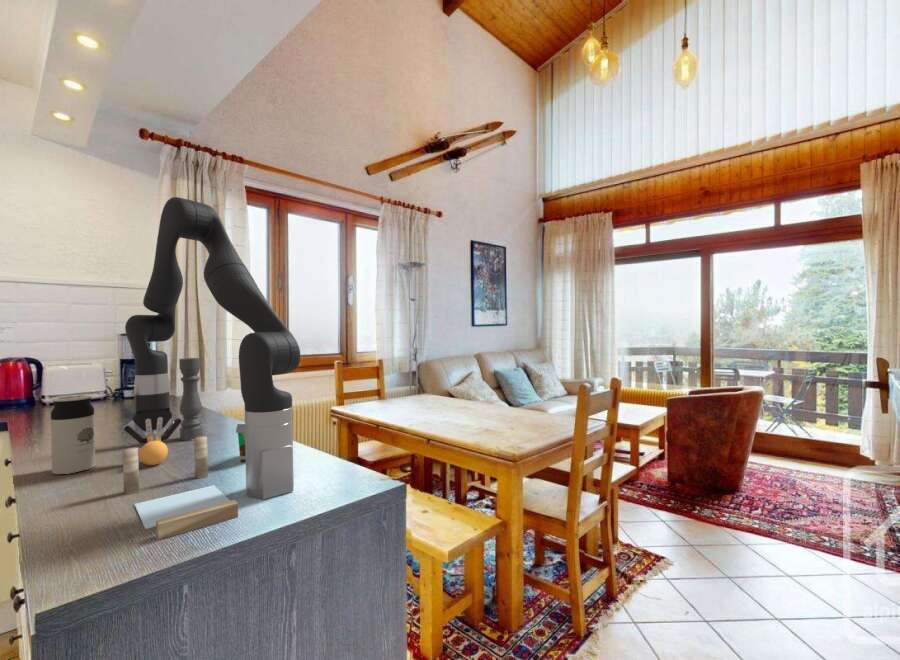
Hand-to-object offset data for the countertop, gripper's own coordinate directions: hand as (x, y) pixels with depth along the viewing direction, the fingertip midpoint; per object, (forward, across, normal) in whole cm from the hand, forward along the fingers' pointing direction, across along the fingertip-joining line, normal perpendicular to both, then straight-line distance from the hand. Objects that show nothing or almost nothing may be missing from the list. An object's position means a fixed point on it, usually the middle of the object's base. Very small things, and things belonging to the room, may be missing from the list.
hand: (153, 457), depth 111 cm
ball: (-2, 0, -4) cm, 5 cm away
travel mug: (+1, -16, +5) cm, 16 cm away
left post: (+1, -7, -23) cm, 24 cm away
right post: (+1, +6, -22) cm, 23 cm away
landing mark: (+1, 0, -39) cm, 39 cm away
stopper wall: (+1, 0, -51) cm, 51 cm away
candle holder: (+1, +12, +20) cm, 23 cm away
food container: (+1, +22, -17) cm, 28 cm away
